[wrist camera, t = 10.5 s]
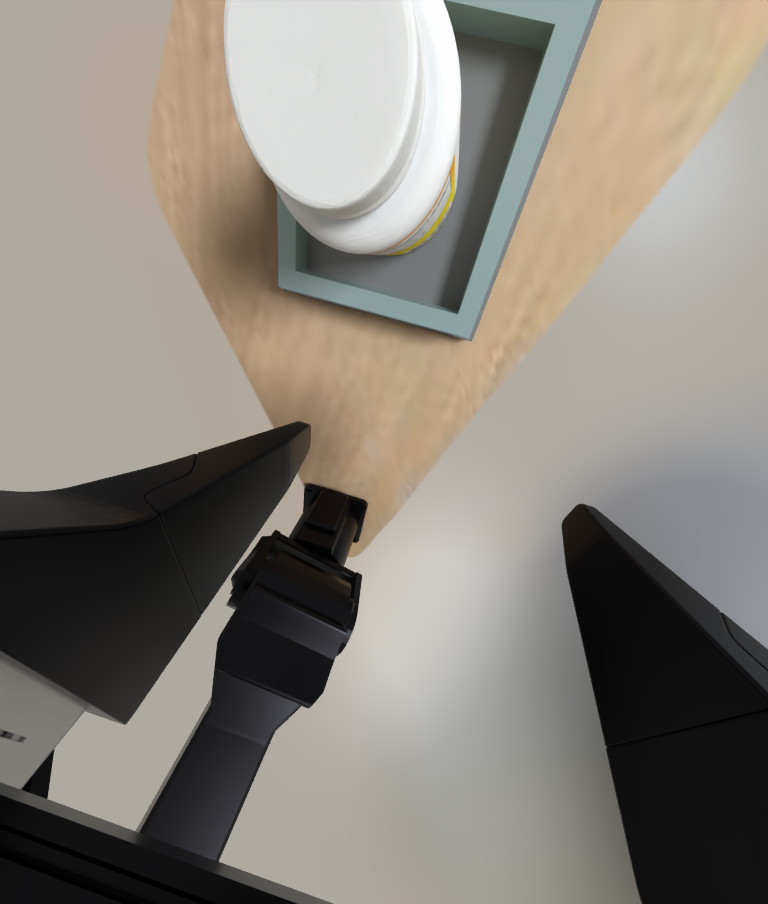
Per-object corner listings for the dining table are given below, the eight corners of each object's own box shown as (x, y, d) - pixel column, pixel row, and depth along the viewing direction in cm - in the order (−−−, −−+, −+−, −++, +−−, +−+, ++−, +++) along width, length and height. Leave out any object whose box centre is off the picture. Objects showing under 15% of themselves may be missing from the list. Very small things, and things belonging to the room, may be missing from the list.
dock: (470, 337, 18) (473, 347, 16) (292, 289, 18) (272, 293, 16) (592, 14, 11) (625, -43, 9) (294, -50, 11) (259, -119, 9)
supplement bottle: (349, 90, 12) (131, -267, 4) (475, 109, 12) (525, -246, 4) (341, 246, 15) (212, 230, 7) (439, 265, 15) (422, 271, 7)
